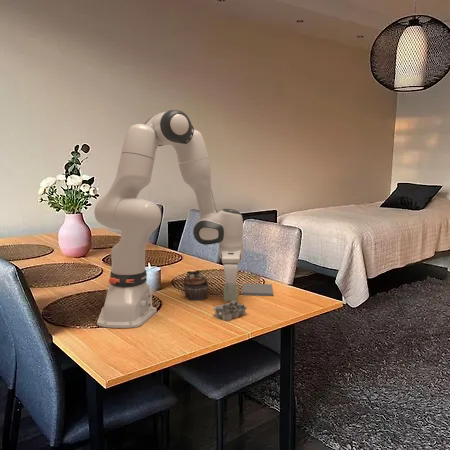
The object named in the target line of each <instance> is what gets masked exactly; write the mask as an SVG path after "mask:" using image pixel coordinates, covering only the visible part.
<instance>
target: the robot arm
mask: <svg viewBox="0 0 450 450" xmlns="http://www.w3.org/2000/svg"><path fill="white" fill-rule="evenodd" d="M170 145H171V146H172V147H173V148H174V150H175V152H176V154H177V163H178V168H179V171H180V174H181V176H182V179H183V181H184V183H186V184H187V185H188V186H189V187H190V188H191V189H192V190H193V192H194V194H195V197H196V201H197V205H198V210H199V220H198V221H197V222H196V224H195V225H194V226H193V229H192V230H193V231H192V233H193V237H194V239H195V241H196V242H198V243H199V244H201V245H205V246H209V245H215V244H219V245H218V249H219V250H218V253H219V254H218V255H219V257H218V258H219V259H220V260H221V263H222V264H223V265H222V266H223V275H224V281H225V284H228V293H229V294H232V293H233V287H234V285H237V284H236V283H237V276H238V271H239V270H238V269H239V264H240V263H241V260H242V259H243V258H244V242H243V235H244V220H243V215H242V213H240V211H238V210H236V209H232V208H222V209H220V210H219V211H217V209H216V204H215V199H214V195H213V190H212V179H211V178H212V176H211V174H212V173H211V163H210V158H209V156H210V155H209V152H208V149H207V145H206V142H205V139H204V137H203V134H202V133H201V132H200V131H199V130H197V129H195V127H194V126H193V125H192V122H191V120H190V118H189V116H188V115H187V114H186V113H185V112H183V111H182V110H179V109H170V110H168V111H164V112H160V113H157V114H155V115H154V116H151V117H150V118H149V119H147V120H146V121H145V122H144V123H136V124H133V125H131V126H130V127H129V128H128V130H127V133H126V135H125V138H124V141H123V145H122V149H121V154H120V158H119V163H118V167H117V172H116V176H115V177H114V180H113V183H112V184H111V187H110V188H109V190H108V191H107V193H106V194H105V195H104V196H103V197H102V198H101V199H99V200H98V201H97V202H96V204H95V207H94V218H95V220H96V221H97V222H98V223H99V224H100V225H102V226H104V227H106V228H108V229H113V230H119V231H121V233H120V234H121V235H120V239H119V241H118V242H117V243H116V244H114V245H113V247H112V248H111V252H110V255H111V256H110V257H111V258H110V259H111V271H110V275H109V278H108V284H109V285H108V286H107V287H108V289H107V292H106V297H105V300H104V305H103V306H102V308H101V309H100V310H101V311H100V313H99V316H98V319H97V321H96V325H97V326H99V327H102V328H103V327H104V328H110V329H111V328H115V329H130V328H131V329H133V328H137V327H140V326H141V325H143V324H145V322H147V321H148V320H149V319H150V318H152V317H153V316H154V315H155V314H156V313H157V312H158V310H157V307H155V306H153V295H152V287H151V286H150V285H149V284H148V282H147V276H148V274H147V270H146V248H147V243H148V241H149V238H150V236H151V235H152V234H153V232H155V231H156V230H157V229H158V227H159V226H160V224H161V222H162V212H161V208H160V207H159V206H158V204H157V203H155V202H152V201H150V200H147V199H144V198H138V196H139V194H140V193H141V191H142V190H143V189H144V188H146V187H148V186H149V185H150V183H151V180H152V174H153V170H154V169H153V168H154V163H155V159H156V151H157V149H158V147H162V146H170Z"/></svg>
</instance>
